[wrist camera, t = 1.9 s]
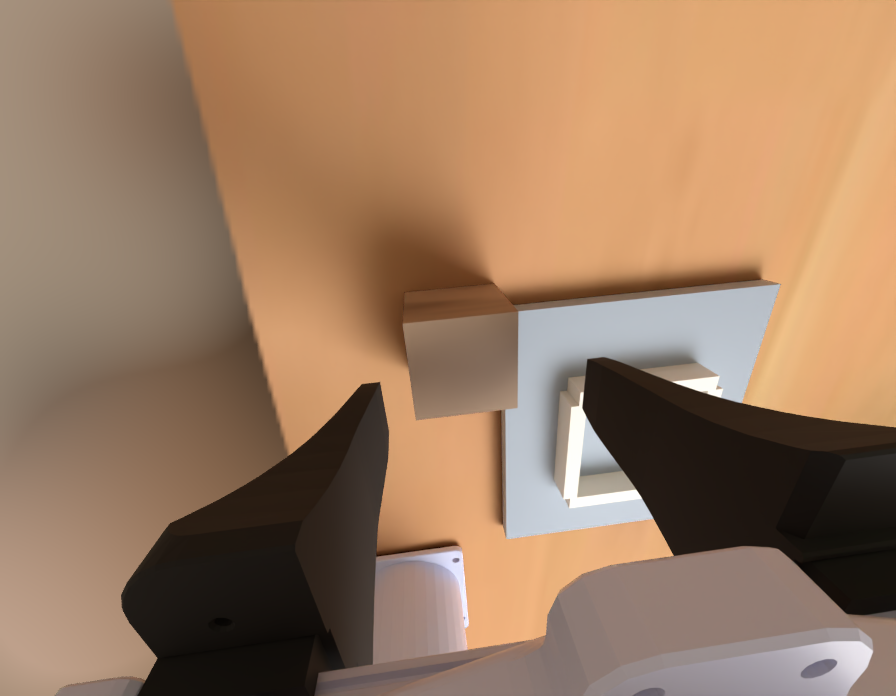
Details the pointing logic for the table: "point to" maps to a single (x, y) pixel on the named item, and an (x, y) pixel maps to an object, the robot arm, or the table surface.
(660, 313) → the base plate
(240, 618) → the robot arm
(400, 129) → the table surface
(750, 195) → the table surface
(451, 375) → the brown cube
